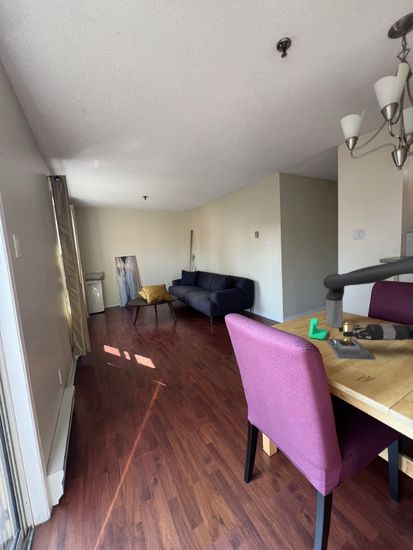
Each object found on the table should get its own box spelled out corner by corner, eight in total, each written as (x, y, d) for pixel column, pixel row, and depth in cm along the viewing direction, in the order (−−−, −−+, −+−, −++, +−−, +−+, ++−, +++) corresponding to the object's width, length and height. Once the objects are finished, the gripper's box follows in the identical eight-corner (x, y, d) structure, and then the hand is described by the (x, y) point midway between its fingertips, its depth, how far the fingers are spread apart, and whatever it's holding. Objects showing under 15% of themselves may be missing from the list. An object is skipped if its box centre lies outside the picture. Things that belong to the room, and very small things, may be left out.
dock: (326, 342, 125) (326, 334, 124) (355, 342, 122) (355, 334, 121) (338, 358, 107) (338, 349, 107) (372, 359, 104) (372, 349, 104)
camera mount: (324, 341, 127) (323, 323, 126) (309, 338, 131) (309, 321, 130) (327, 334, 136) (327, 317, 135) (313, 331, 141) (313, 315, 140)
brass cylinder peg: (341, 345, 115) (342, 321, 114) (350, 346, 114) (351, 321, 113) (344, 349, 111) (345, 323, 110) (353, 349, 110) (354, 323, 109)
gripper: (373, 319, 115) (336, 319, 119) (389, 330, 101) (346, 329, 105) (372, 334, 116) (336, 333, 120) (388, 346, 102) (346, 345, 106)
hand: (341, 331), depth 112 cm, fingers open, 5 cm apart
